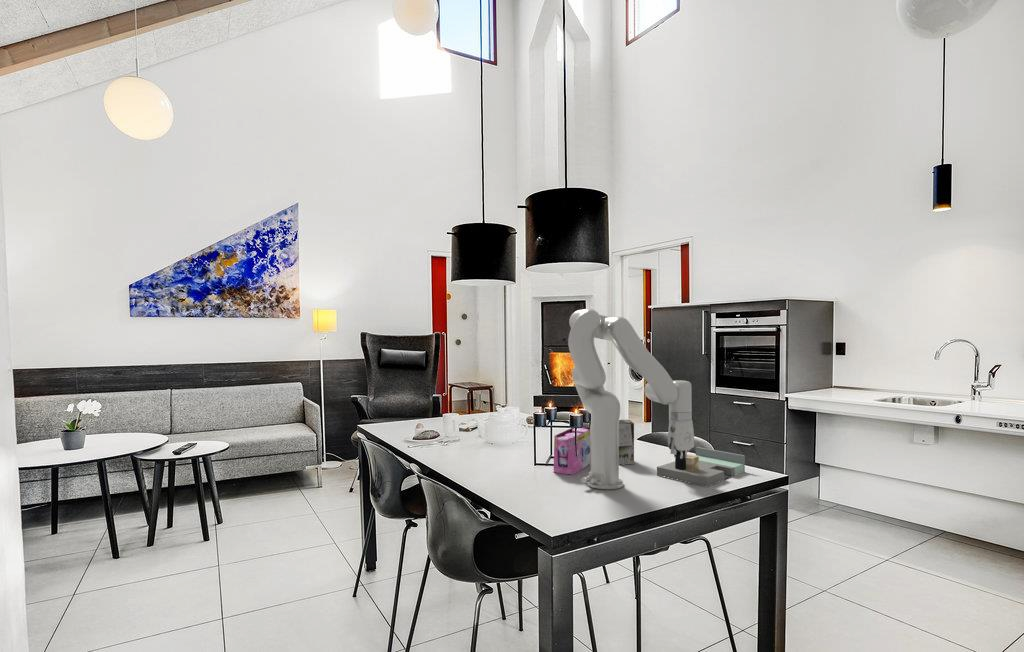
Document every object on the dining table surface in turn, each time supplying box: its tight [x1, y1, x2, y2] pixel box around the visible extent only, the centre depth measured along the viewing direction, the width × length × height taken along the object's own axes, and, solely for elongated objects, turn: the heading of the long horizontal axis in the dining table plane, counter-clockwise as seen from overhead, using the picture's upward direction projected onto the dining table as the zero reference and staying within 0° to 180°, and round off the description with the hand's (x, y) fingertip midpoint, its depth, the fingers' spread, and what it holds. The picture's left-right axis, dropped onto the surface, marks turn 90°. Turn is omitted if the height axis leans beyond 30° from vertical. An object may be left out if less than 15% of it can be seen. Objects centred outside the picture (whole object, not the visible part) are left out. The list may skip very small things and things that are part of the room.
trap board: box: [656, 446, 746, 487], centre depth 193 cm, size 28×19×6 cm
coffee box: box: [618, 419, 635, 465], centre depth 211 cm, size 9×6×16 cm
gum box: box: [553, 426, 590, 476], centre depth 203 cm, size 24×8×14 cm, turn 152°
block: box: [686, 453, 699, 471], centre depth 188 cm, size 4×4×4 cm
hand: (680, 469), depth 184 cm, fingers closed
